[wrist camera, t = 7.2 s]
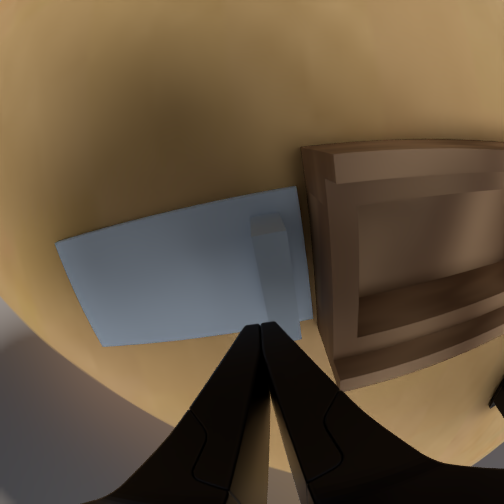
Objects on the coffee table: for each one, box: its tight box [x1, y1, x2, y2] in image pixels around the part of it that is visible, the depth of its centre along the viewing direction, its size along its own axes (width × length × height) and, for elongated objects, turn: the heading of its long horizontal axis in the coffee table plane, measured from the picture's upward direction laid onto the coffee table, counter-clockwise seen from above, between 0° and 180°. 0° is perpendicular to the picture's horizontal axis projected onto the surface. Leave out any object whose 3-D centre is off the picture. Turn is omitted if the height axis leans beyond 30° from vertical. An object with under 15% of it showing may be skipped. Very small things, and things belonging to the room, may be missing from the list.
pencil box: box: [301, 139, 504, 392], centre depth 11 cm, size 14×9×5 cm, turn 99°
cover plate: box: [55, 186, 313, 347], centre depth 12 cm, size 12×7×3 cm, turn 101°
